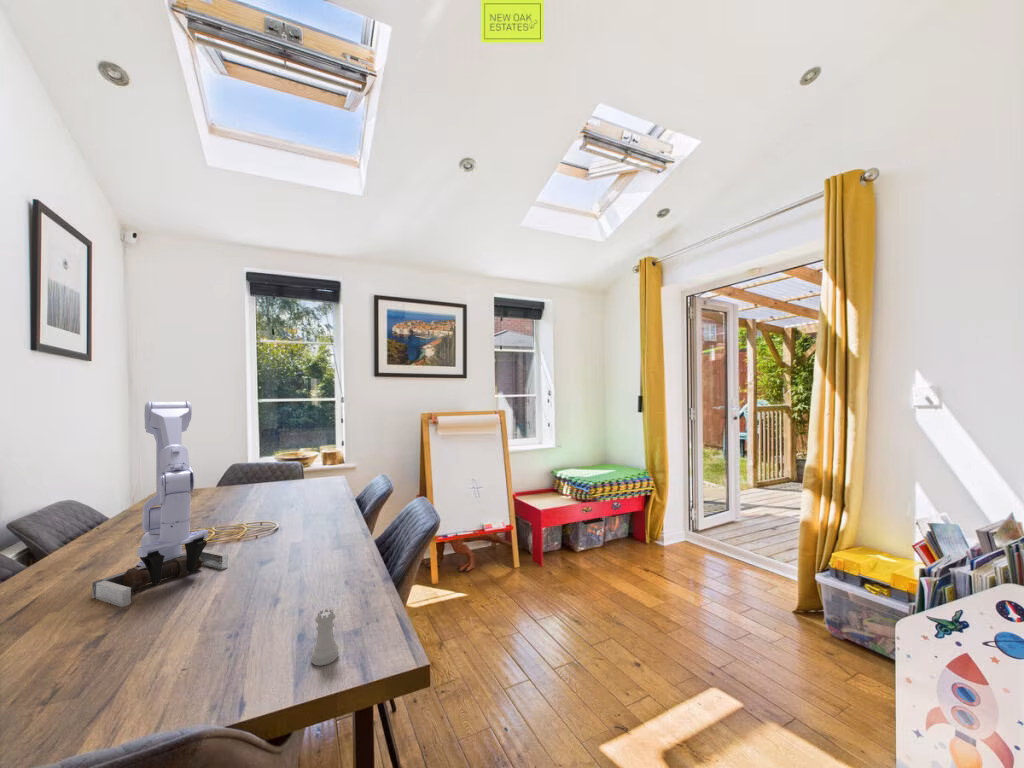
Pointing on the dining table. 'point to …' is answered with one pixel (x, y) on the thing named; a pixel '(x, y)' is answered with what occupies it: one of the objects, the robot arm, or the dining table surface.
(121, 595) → the keeper
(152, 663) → the dining table surface
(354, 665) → the dining table surface
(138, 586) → the bolt
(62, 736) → the dining table surface
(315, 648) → the rook chess piece
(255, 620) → the dining table surface
